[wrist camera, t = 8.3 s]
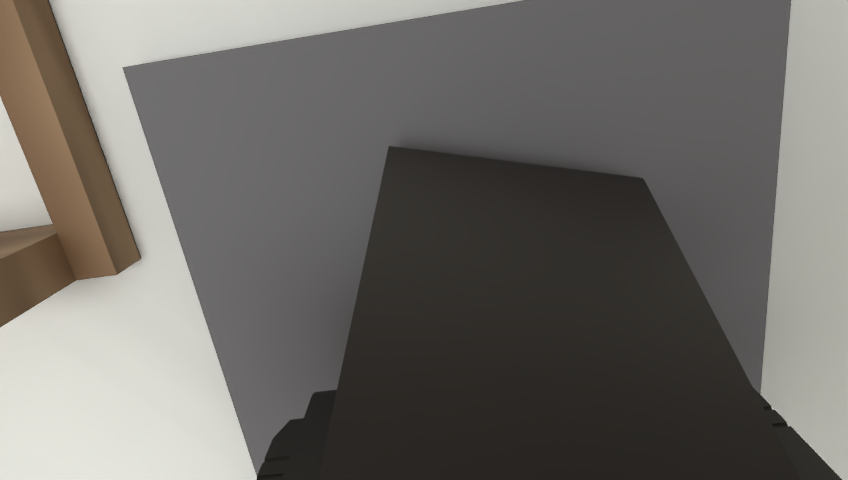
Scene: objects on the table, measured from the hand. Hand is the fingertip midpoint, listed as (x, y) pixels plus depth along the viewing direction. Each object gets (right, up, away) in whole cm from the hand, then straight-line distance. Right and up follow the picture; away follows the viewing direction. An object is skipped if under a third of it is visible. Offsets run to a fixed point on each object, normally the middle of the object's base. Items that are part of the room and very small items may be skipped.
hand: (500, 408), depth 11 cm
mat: (0, +2, +5) cm, 5 cm away
